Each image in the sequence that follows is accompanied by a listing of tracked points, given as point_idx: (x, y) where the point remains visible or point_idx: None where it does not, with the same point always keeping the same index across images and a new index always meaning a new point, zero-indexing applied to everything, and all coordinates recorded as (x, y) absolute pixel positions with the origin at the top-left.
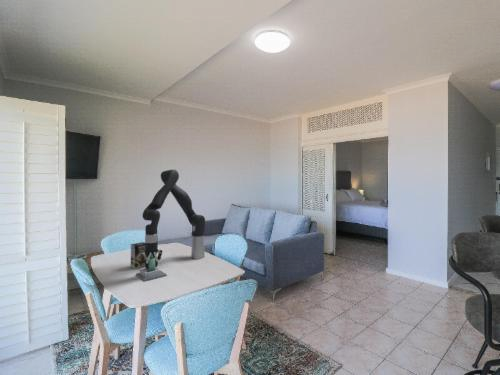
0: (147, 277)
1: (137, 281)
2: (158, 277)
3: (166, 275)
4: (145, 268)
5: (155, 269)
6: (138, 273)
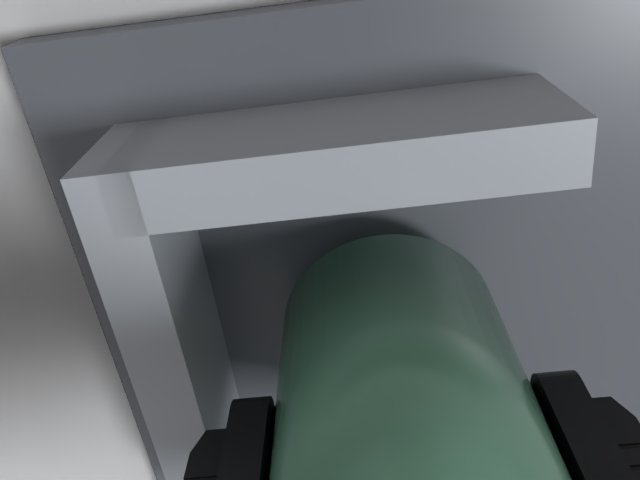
0: None
1: (58, 429)
2: None
3: None
4: (254, 219)
5: (624, 24)
6: (75, 101)
